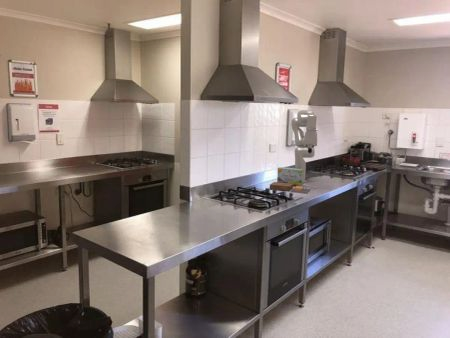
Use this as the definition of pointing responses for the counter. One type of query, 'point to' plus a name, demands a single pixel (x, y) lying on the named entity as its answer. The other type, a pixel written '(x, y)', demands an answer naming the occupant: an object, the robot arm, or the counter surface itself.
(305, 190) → the mat
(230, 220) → the counter surface
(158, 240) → the counter surface
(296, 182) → the snack box
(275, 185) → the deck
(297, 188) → the tile
